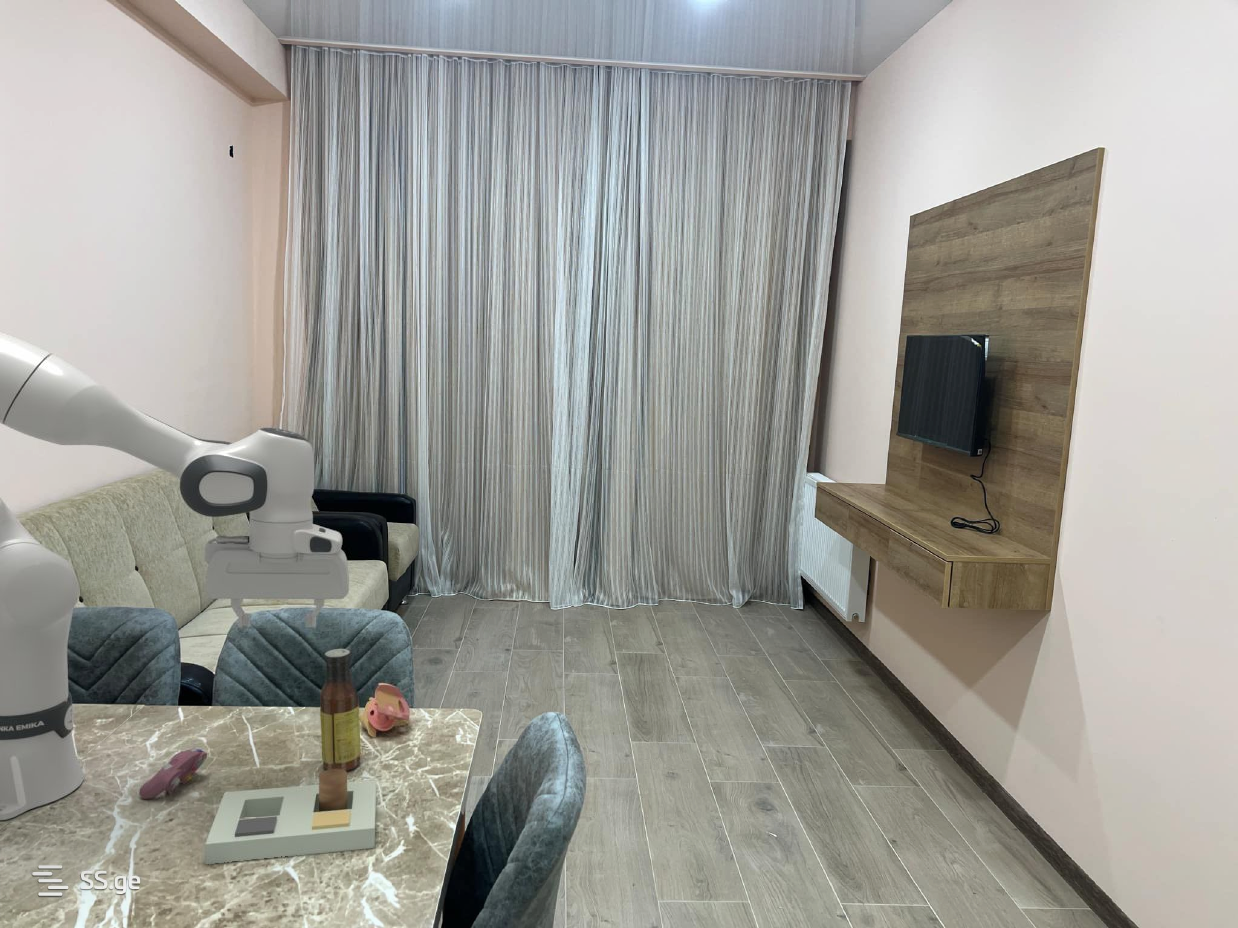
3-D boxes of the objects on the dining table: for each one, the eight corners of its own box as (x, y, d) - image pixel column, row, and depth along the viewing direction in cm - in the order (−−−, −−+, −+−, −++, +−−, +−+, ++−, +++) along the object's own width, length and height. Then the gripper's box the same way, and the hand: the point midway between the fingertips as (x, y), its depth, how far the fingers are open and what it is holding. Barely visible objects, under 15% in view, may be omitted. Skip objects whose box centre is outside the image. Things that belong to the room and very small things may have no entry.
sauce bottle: (366, 758, 149) (367, 647, 146) (351, 775, 143) (352, 660, 140) (329, 754, 149) (329, 644, 147) (313, 772, 143) (313, 657, 141)
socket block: (205, 864, 117) (205, 840, 116) (224, 810, 130) (224, 788, 130) (374, 847, 123) (374, 824, 122) (376, 797, 136) (376, 776, 136)
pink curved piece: (158, 812, 132) (175, 776, 131) (134, 796, 132) (151, 760, 131) (200, 781, 142) (216, 747, 140) (177, 766, 142) (194, 732, 141)
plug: (317, 827, 127) (317, 782, 126) (320, 813, 131) (320, 769, 130) (346, 824, 128) (346, 780, 127) (347, 810, 132) (348, 767, 131)
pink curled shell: (346, 740, 156) (351, 690, 162) (391, 751, 163) (393, 702, 169) (379, 724, 152) (382, 673, 158) (423, 736, 159) (425, 687, 164)
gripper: (201, 539, 124) (198, 633, 125) (350, 542, 129) (346, 632, 131) (209, 531, 130) (207, 620, 131) (351, 534, 135) (347, 619, 137)
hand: (277, 626), depth 131 cm, fingers open, 8 cm apart
